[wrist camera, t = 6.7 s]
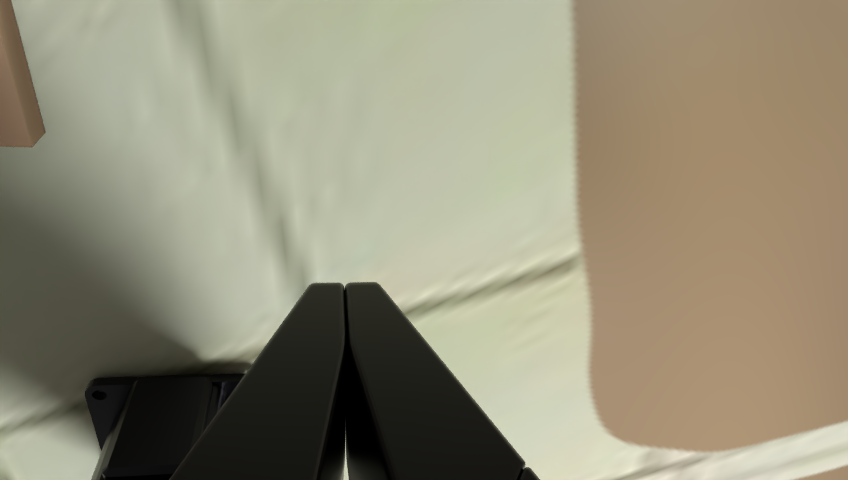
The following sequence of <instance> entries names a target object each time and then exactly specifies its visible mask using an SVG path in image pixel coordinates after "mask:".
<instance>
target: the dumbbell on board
mask: <svg viewBox="0 0 848 480" xmlns="http://www.w3.org/2000/svg"><path fill="white" fill-rule="evenodd" d="M45 133H46V132H45V129H44V125H43V121H42V117H41V113H40V110H39V106H38V102H37V98H36V94H35V90H34V87H33V83H32V79H31V75H30V71H29V68H28V64H27V60H26V56H25V52H24V48H23V45H22V41H21V37H20V33H19V29H18V26H17V22H16V18H15V14H14V10H13V6H12V3H11V0H0V146H7V147H33V145H34V144H35V143H36V142H37V141H38V140H39V139H40V138H41V137H42V136H43V135H44V134H45Z"/></svg>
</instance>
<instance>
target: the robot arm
mask: <svg viewBox="0 0 848 480" xmlns="http://www.w3.org/2000/svg"><path fill="white" fill-rule="evenodd" d="M98 390H99V391H98ZM100 391H103V392H100ZM85 397H86V401H87V404H88V407H89V411H90V414H91V418H92V421H93V424H94V428H95V431H96V434H97V438H98V441H99V444H100V448H101V451H102V452H101V454H100V457H99V460H98V463H97V465H96V468H95V471H94V474H93V476H92V479H91V480H343V477H344V464H345V431H346V457H347V467H348V476H349V480H540V479H539V478H538V477H537V476H536V474H535V473H534V472H533V471H532V469H531V468H529V467H526V468H525V462H524V460H523V459H522V458H521V456H520V455H519V454H518V453H517V452H516V450H515V449H514V448H513V447H512V445H511V444H510V443H509V442H508V441H507V439H506V438H505V437H504V436H503V434H502V433H501V432H500V431H499V430H498V428H497V427H496V426H495V425H494V423H493V422H492V421H491V420H490V419H489V417H488V416H487V415H486V414H485V413H484V411H483V410H482V409H481V408H480V406H479V405H478V404H477V403H476V402H475V400H474V399H473V398H472V397H471V395H470V394H469V393H468V392H467V391H466V389H465V388H464V387H463V386H462V384H461V383H460V382H459V381H458V380H457V378H456V377H455V376H454V375H453V373H452V372H451V371H450V370H449V369H448V367H447V366H446V365H445V364H444V362H443V361H442V360H441V359H440V358H439V356H438V355H437V354H436V353H435V352H434V350H433V349H432V348H431V347H430V345H429V344H428V343H427V342H426V341H425V339H424V338H423V337H422V336H421V334H420V333H419V332H418V331H417V330H416V328H415V327H414V326H413V325H412V323H411V322H410V321H409V320H408V319H407V317H406V316H405V315H404V314H403V312H402V311H401V310H400V309H399V308H398V306H397V305H396V304H395V303H394V301H393V300H392V299H391V298H390V297H389V295H388V294H387V293H386V292H385V290H384V289H383V288H382V287H381V286H380V285H379V284H378V283H376V282H353V283H348V284H347V285H346V286H345V290H344V286H343V284H341V283H312V284H311V285H309V287H308V288H307V289H306V291H305V292H304V293H303V295H302V296H301V297H300V299H299V300H298V302H297V303H296V304H295V306H294V307H293V309H292V310H291V311H290V313H289V314H288V315H287V317H286V318H285V320H284V321H283V322H282V324H281V325H280V327H279V328H278V329H277V331H276V332H275V334H274V335H273V336H272V338H271V339H270V340H269V342H268V343H267V345H266V346H265V347H264V349H263V350H262V352H261V353H260V354H259V356H258V357H257V358H256V360H255V361H254V363H253V364H252V365H251V367H250V368H249V370H248V371H247V372H246V374H212V375H178V376H145V377H111V378H96V379H93V380H92V381H90V383H89V384H88V386H87V389H86V391H85Z"/></svg>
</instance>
